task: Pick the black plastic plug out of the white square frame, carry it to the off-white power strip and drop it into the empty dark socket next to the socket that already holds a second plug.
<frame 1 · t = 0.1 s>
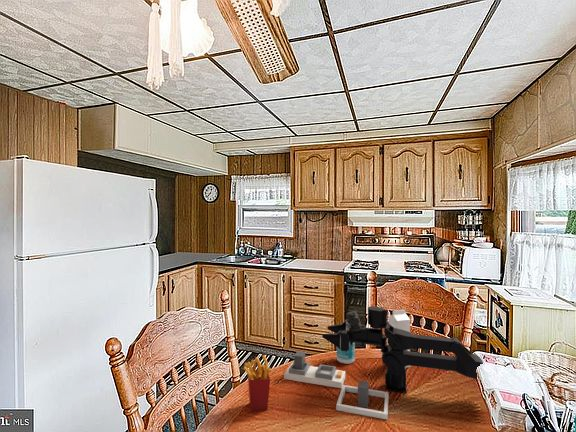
hand: (325, 331, 122), 17 cm above the table, tool horizontal, fingers open, 9 cm apart
power strip: (315, 377, 121), on the table
second plug: (299, 369, 123), point 2 cm above the table, touching power strip
french fries: (255, 405, 103), on the table
pill bottle: (345, 361, 136), on the table
plug: (363, 393, 104), in the white square frame
milk: (399, 365, 132), on the table
white square frame: (363, 403, 104), on the table
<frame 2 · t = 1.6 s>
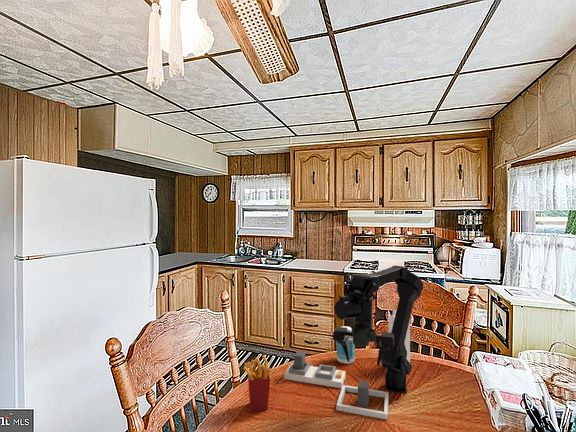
hand: (363, 363, 104), 12 cm above the table, tool pointing down, fingers open, 9 cm apart
nothing on the table moved.
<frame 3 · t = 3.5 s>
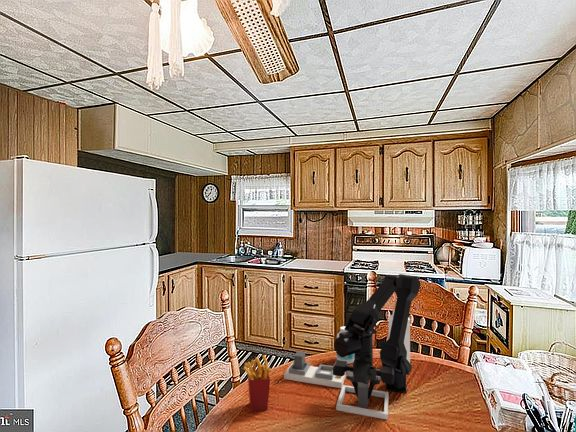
hand: (363, 398, 104), 2 cm above the table, tool pointing down, fingers closed on plug, 3 cm apart
plug: (363, 393, 104), in the white square frame, touching gripper
everything else where it was.
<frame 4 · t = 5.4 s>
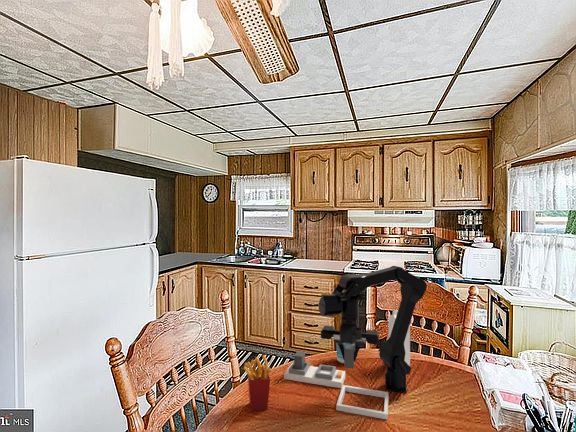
hand: (349, 360, 109), 11 cm above the table, tool pointing down, fingers closed on plug, 3 cm apart
plug: (349, 356, 109), point 13 cm above the table, touching gripper
everything else where it was.
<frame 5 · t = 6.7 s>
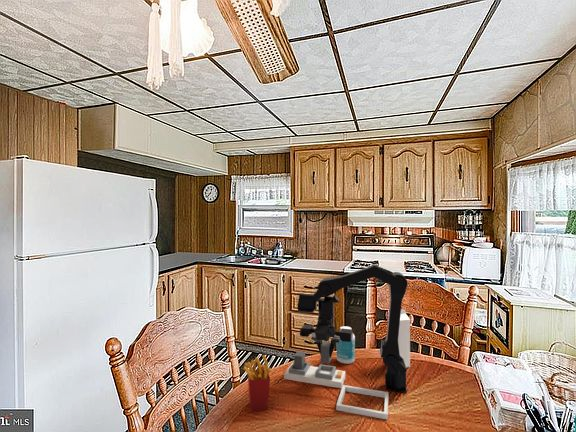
hand: (326, 356, 120), 8 cm above the table, tool pointing down, fingers closed on plug, 3 cm apart
plug: (326, 352, 120), point 10 cm above the table, touching gripper
everything else where it was.
when the fingers open (4 cm above the table, at t = 7.6 s): plug stays where it is, resting on power strip.
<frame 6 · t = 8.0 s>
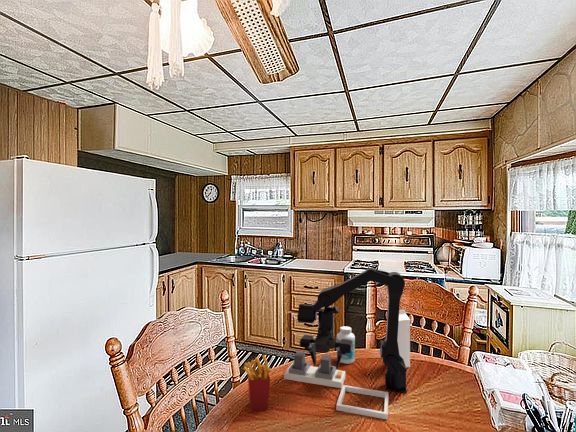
hand: (325, 367, 120), 4 cm above the table, tool pointing down, fingers open, 8 cm apart
plug: (325, 365, 120), in the power strip, point 5 cm above the table
everything else where it was.
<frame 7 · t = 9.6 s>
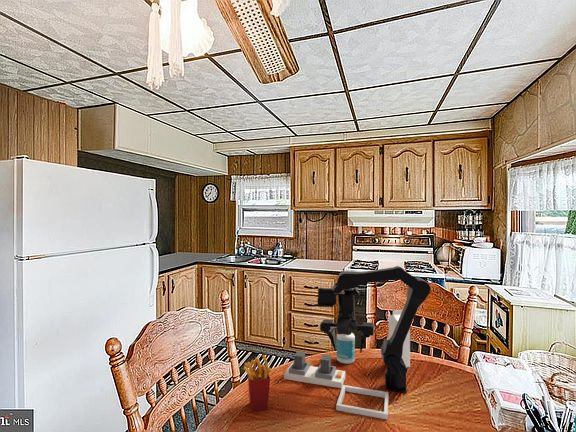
hand: (347, 351, 117), 11 cm above the table, tool pointing down, fingers open, 9 cm apart
nothing on the table moved.
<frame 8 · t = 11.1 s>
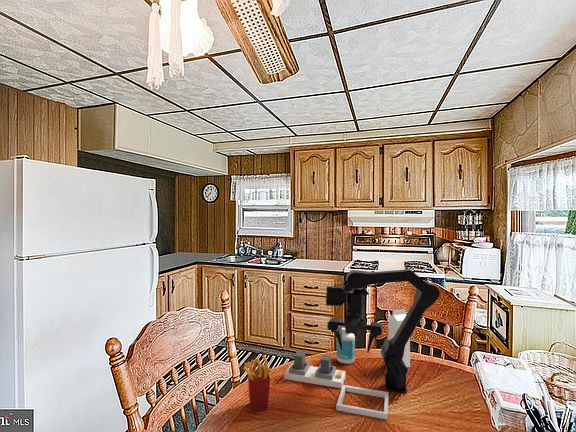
hand: (354, 350, 116), 12 cm above the table, tool pointing down, fingers open, 9 cm apart
nothing on the table moved.
at the end: plug 0.1 cm from the target spot on the power strip, point 5.0 cm above the power strip's base; plug tilted 0°; the gripper is holding nothing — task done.
